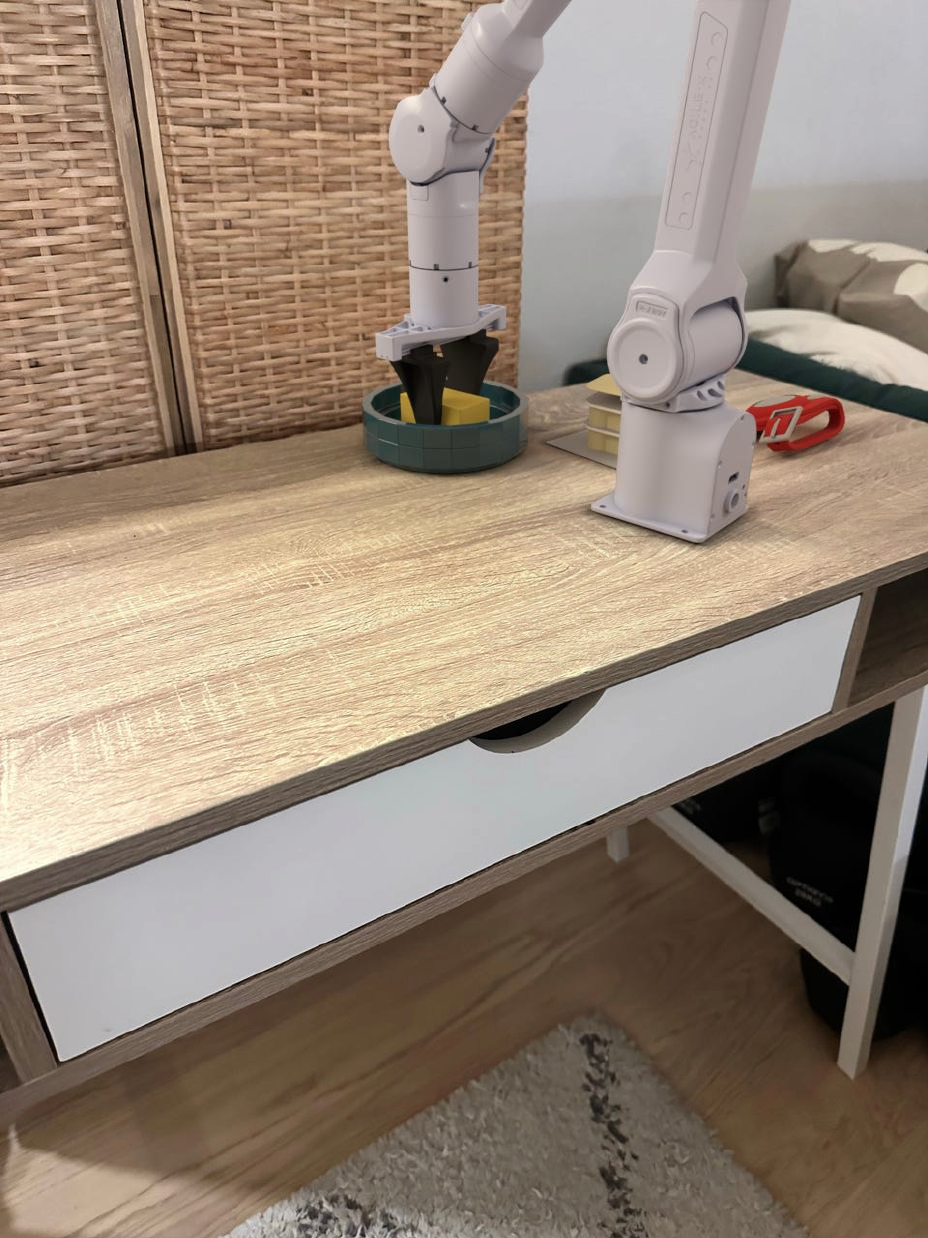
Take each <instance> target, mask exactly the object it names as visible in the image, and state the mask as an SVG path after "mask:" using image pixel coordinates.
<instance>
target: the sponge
mask: <svg viewBox="0 0 928 1238" xmlns="http://www.w3.org/2000/svg"><path fill="white" fill-rule="evenodd" d="M489 405H490V399H488V398H484V397H480V396H476V395H472V394H468V393H464V392H460V391H456V390H452V389H448V388H444V391H443V399H442V419H441V425H460V424H472V423H479V422H483V421H488V420H489ZM401 421H402V422H409V423H416V422H415V418H414V415H413V411H412V408H411V405H410V402H409V399H408V396H407V393H406V392H405V393H402V394H401Z"/></svg>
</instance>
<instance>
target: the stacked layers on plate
mask: <svg viewBox="0 0 928 1238" xmlns="http://www.w3.org/2000/svg"><path fill="white" fill-rule="evenodd" d="M586 387H587V388H588V389H590V390H592V391H593V390H594V391H596V392H595V393H593V394H591V395H589V396H587V397H586V398H585V401H584V402H585V405H586V406H587V407H589V409H588V418H587V419H585V420H584V421H583V426H584V428H586V429H584V430H580V431H578V432H574V433H571V434H568V435H564V436H561V437H558V438H555V439H552V440H549V441H546V442H544V443H546V444H548V445H551V446H554V447H556V448H559V449H562V450H564V451H567V452H571V453H573V454H575V455H578V456H580V457H584V458H586V459H589V460H592V461H594V462H597V463H599V464H603V465H605V466H608V467H609V468H613V469H616V470H617V458H618V446H619V434H620V422H621V410H622V401H621V400H620V398H621V391H620V390H619V388H618V387H617V386H616V384H615V383H614V381H613V379H612V377H611V374H610V373H606V374H603V375H601V376H599V377H598V378H596V379H595V378H594V379H593V380H591V381H590V382H588V383H586Z"/></svg>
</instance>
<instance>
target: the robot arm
mask: <svg viewBox="0 0 928 1238" xmlns="http://www.w3.org/2000/svg"><path fill="white" fill-rule="evenodd" d="M571 2H573V0H503V1H502V2H499V3H498V2H497V3H496V2H495V3H487V4H483V5H481V6H480V7H478V8H477V10H476V12H468V13H467V15H466V17H465V18H464V20H463V21H462V23H461V25H460V29H461V31H462V32H463V33H462V34H461V36H460V37H459V39H458V41H457V42H456V44H455V45H454V46H453V48H452V50H451V52H450V53H449V55H448V56H447V58H446V60H445V61H444V63H443V64H442V66H441V68H440V69H439V71H438V72H435V73H434V74H433V75H432V77H431V79H430V80H429V82H428V85H429V87H425V88H424V87H423V88H424V89H423V90H422V91H421V93H419V94H417V95H416V94H414V95H409V96H407V97H404V98H402V99H401V100H400V101H399V102H398V103H397V105H396V108H395V111H394V114H393V116H392V118H391V121H390V125H389V129H388V146H389V151H390V156H391V159H392V163H393V164H394V166H395V168H396V170H397V171H398V172H399V173H400V175H401V176H402V177H403V178H405V184H406V185H405V186H406V215H407V217H406V218H407V219H406V221H407V251H408V280H409V285H408V286H409V312H407V313H405V314H403V321H401V322H399V323H397V324H396V325H393V326H392V327H390V328H388V329H386V330H383V331H380V332H377V333H375V352H376V353H375V355H376V357H375V358H377V359H381V360H384V361H388V363H390V365H391V366H392V368H393V369H394V371H395V373H396V375H397V377H398V379H399V381H400V382H402V384H403V386H404V388H405V391H406V393H407V396H408V399H409V402H410V405H411V408H412V411H413V415H414V418H415V422H416V424H424V425H441V419H442V399H443V391H444V386H445V381H446V377H447V381H448V389H452V390H456V391H460V392H464V393H468V394H472V395H476V396H479V394H480V390H481V387H482V383H483V380H485V378H486V375H487V373H488V371H489V368H490V366H491V364H492V362H493V361H494V359H495V357H496V355H497V354H498V352H499V351H500V340H499V338H497V337H493V336H487V332H489V331H492V330H494V331H503V330H505V329H507V306H504V305H500V304H499V305H498V304H494V303H486V304H483V305H482V304H481V305H479V247H480V246H479V244H480V243H479V240H480V239H479V238H480V237H479V235H480V234H479V231H480V228H479V227H480V226H479V225H480V223H479V222H480V221H479V220H480V217H479V216H480V215H479V214H480V213H479V212H480V211H479V210H480V209H479V208H480V207H479V205H480V199H481V195H482V194H484V181H485V180H484V179H485V174H486V172H487V170H488V168H489V167H490V165H491V163H492V161H493V159H494V157H495V151H496V146H497V138H496V137H493V135H494V134H495V133H496V132H497V131H498V129H499V128H500V126H501V125H502V124H503V122H504V121H505V120H506V118H508V117H507V116H508V115H509V114H510V113H511V111H512V110H513V109H514V107H515V106H516V105H517V103H518V102H519V101H520V99H521V97H522V96H523V95H524V93H525V92H526V90H527V89H528V88H529V87H530V85H531V84H532V82H533V81H534V79H535V78H536V76H537V75H538V74H539V72H540V71H541V69H542V68H543V66H544V63H545V50H544V36H545V35H546V34H547V32H548V31H549V30H550V29H551V27H552V26H553V25H554V24H555V22H556V21H557V20H558V19H559V17H560V16H561V15H562V14H563V12H564V11H565V10H566V8H567V7H568V6H569V5H570V3H571ZM791 4H792V0H695V5H694V9H693V10H694V11H693V16H692V21H691V22H692V23H691V28H690V34H689V38H688V46H687V53H686V56H685V57H686V58H685V63H684V70H683V74H682V76H683V77H682V79H681V80H682V81H681V87H680V91H679V92H680V93H679V99H678V104H677V110H676V115H675V122H674V127H673V134H672V139H671V144H670V145H671V146H670V152H669V158H668V162H667V163H668V164H667V169H666V176H665V181H664V187H663V192H662V197H661V198H662V199H661V204H660V209H659V210H660V211H659V216H658V222H657V227H656V234H655V238H654V239H655V240H654V246H653V251H652V253H651V255H650V256H649V257H648V259H647V260H646V263H645V264H644V265H643V267H642V269H641V270H640V271H639V273H638V274H637V276H636V277H635V279H634V280H633V282H632V284H630V287H629V288H628V294H627V298H626V299H627V300H626V305H625V308H624V312H623V314H622V316H621V318H620V320H619V321H618V322H617V323H616V325H615V326H614V328H613V330H612V331H611V334H610V335H609V338H608V342H607V348H606V360H607V362H606V363H607V367H608V371H609V374H611V377H612V379H613V381H614V383H615V384H616V386H617V387H618V388H619V390H620V391H621V398H620V400H621V401H622V410H621V422H620V434H619V446H618V458H617V469H616V471H615V472H616V473H615V484H614V491H613V492H610V493H609V494H607V495H605V496H603V497H601V498H599V499H597V500H595V501H594V502H592V503H591V504H590V510H591V511H592V512H594V513H598V514H601V515H605V516H608V517H612V518H614V519H617V520H620V521H624V522H627V523H630V524H634V525H637V526H640V527H643V528H647V529H650V530H653V531H656V532H659V533H663V534H665V535H669V536H672V537H675V538H679V539H682V540H685V541H688V542H692V543H694V544H695V543H696V544H701V543H704V542H706V541H707V540H708V539H710V538H711V537H713V536H714V535H716V534H717V533H718V532H720V531H721V530H723V529H724V528H725V527H727V526H729V525H731V523H733V522H735V521H736V520H737V519H738V518H740V517H741V516H743V515H744V514H746V513H748V512H749V509H750V505H749V504H748V503H747V499H748V492H749V485H750V478H751V475H752V467H753V461H754V456H755V448H756V441H757V431H756V422H755V418H754V416H753V415H752V414H750V413H748V412H746V410H743V409H740V408H737V407H735V406H734V405H733V404H730V402H728V401H727V400H726V399H725V398H726V380H727V374H728V373H729V372H730V371H732V370H733V369H734V368H735V367H736V366H737V365H738V364H739V363H740V361H741V360H742V358H743V356H744V354H745V352H746V349H747V345H748V340H749V326H748V323H747V317H746V314H745V299H746V298H745V297H746V293H747V289H748V279H747V277H746V276H745V274H744V273H743V271H742V269H741V267H740V265H739V264H738V262H737V258H736V257H737V252H738V248H739V244H740V243H739V242H740V239H741V233H742V230H743V225H744V219H745V216H746V211H747V207H748V203H749V198H750V193H751V188H752V183H753V179H754V175H755V170H756V165H757V160H758V156H759V151H760V146H761V143H762V142H761V141H762V137H763V132H764V127H765V124H766V119H767V114H768V110H769V105H770V100H771V96H772V91H773V87H774V81H775V77H776V72H777V70H778V69H777V68H778V65H779V59H780V54H781V51H782V46H783V40H784V35H785V31H786V28H787V22H788V18H789V12H790V8H791ZM437 346H439V349H440V352H441V355H442V356H440V355H438V352H437V351H436V350H435V351H434V347H437Z"/></svg>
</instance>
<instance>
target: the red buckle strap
mask: <svg viewBox="0 0 928 1238" xmlns="http://www.w3.org/2000/svg"><path fill="white" fill-rule="evenodd" d="M745 411H746V412H748V413H750V414H752V415H753V416H754V418H755V422H756V432H762V434H761V436H760V437H759V440H758V443H759V444H760V445H766V446H767V447H768V449H770V450H771V451H772V452H774V453H778V452H779V453H780V452H788V451H789V452H790V451H791V452H792V451H799V450H804V449H807V448H810V447H812V446H815V445H817V444H820V443H822V442H824V441H826V440H829V439H831V438H834V437H837V436H838V435H840V433H841V432H842V430H843V429H844V427H845V423H846V416H845V415H846V414H845V411H844V407H843V403H842V402H841V401H840V400H839V399H837V398H835V397H830V396H826V395H825V394H824V393H814V394H806V395H800V394H784V395H777V396H773V397H769V398H766V399H765V398H764V399H763V400H762V399H761V400H759V401H757V402H756V403H753V404H752V405H750V406H749V407H747V409H746V410H745ZM825 412H828V423H827V425H826V426H825V427H823V428H822V429H819V430H816V431H815V432H812V433H810V434H807V435H805V436H803V437H800V438H798V439H795V440H793V441H790V437H791V435H792V434H793V433H794V432H795V427H796V426H800V425H802V424H805V423H807V422H809V421H810V420H812V419H814V418H816V417H818V416H819V415H822V414H823V413H825Z"/></svg>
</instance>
